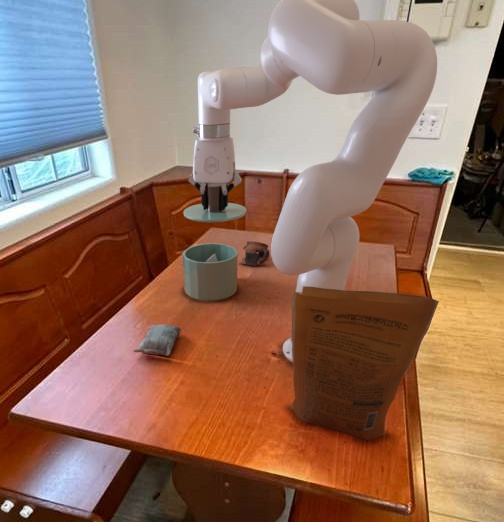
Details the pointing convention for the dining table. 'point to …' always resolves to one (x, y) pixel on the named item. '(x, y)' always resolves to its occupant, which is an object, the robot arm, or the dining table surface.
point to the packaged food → (159, 340)
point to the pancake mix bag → (353, 355)
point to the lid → (214, 208)
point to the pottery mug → (255, 253)
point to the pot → (210, 271)
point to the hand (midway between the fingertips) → (214, 208)
